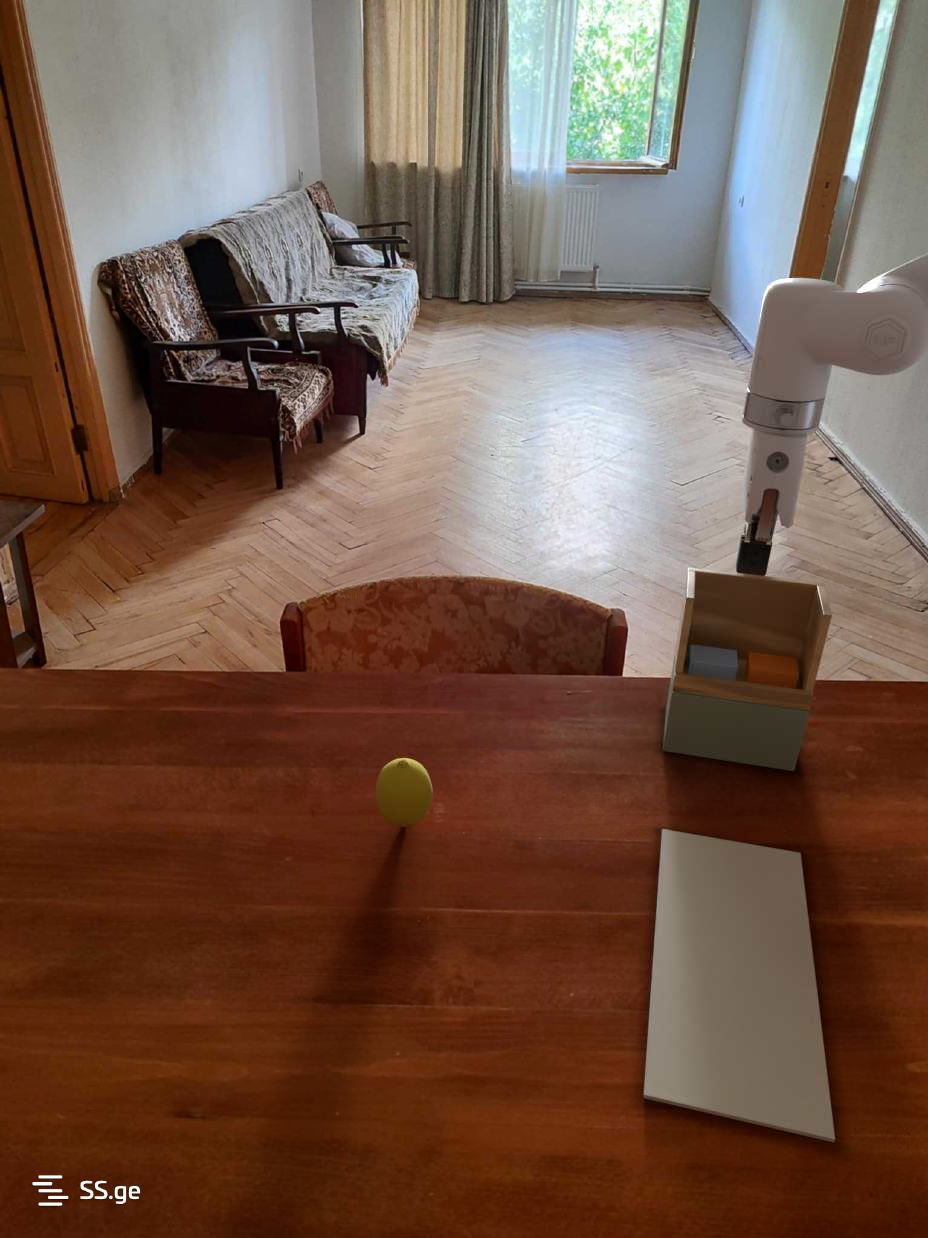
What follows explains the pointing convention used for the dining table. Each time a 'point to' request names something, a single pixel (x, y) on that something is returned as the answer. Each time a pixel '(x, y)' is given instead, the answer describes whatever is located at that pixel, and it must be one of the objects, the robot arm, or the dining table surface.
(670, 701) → the grey open box
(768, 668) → the packet orange
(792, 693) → the wooden open box
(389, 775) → the lemon
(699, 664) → the packet blue
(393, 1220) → the dining table surface
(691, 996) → the mat
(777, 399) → the robot arm
